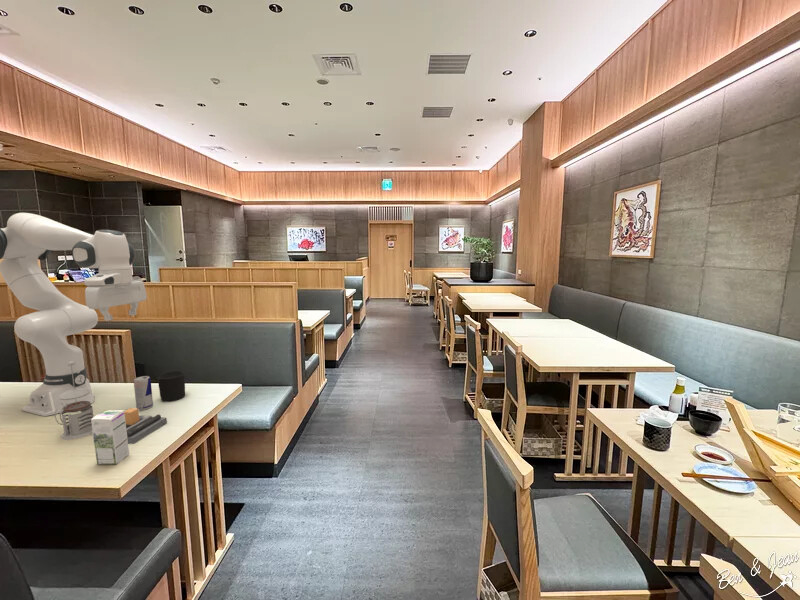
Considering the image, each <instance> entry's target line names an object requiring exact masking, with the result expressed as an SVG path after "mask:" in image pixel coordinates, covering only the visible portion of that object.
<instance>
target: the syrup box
mask: <svg viewBox="0 0 800 600" xmlns="http://www.w3.org/2000/svg"><path fill="white" fill-rule="evenodd" d="M124 411H125V410H121V409H120V410H119V409H118V410H116V409H115V410H113V409H112V410H108V409H107V410H103V411H101V412H99V413H97V414H96V415H95V416H93V418H92V419H91V424H92V431H93V433H92V436H93V437H92V438H93V445H94V451H95V458H96V465H118V464H119V463H120V462H121V461H123V459H125V458H127V456H129V454H130V448H129V443H128V440H127V431H126V421H125V413H124Z"/></svg>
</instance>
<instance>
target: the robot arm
mask: <svg viewBox="0 0 800 600" xmlns="http://www.w3.org/2000/svg"><path fill="white" fill-rule="evenodd" d="M54 251H71V257H72V259H73V261H74V263H75V264H76V265H78V267H80V268H82V269H85V268H86V269H98V273H96V274H94V275H91V276H90V277H87V278H84V280H83V281H84V282H83V283H84V285H85V286H86V288H85V289H84V298H85V305H84V304H81V303H79V302H76V301H74V300H73V299H71V298H69V297H68V296H67V295H65V294H63V293H62V292H61V291H60V290H59V289H58V288H57V287H56V285H55V284H54V283H52V281H51V280H50V279H49V277H48V276H47V275H46V273H45V272H44V271H43V270H42V269H41V267H40V265H39V262H38V260H39V261H45V260H47V259H48V256H51V254H52V253H53V252H54ZM136 259H137V251H136V248H135V247H134V246H133V245H132V244H131V243H130V242H128V240H127V236H126V235H125V233H123V232H122V231H119V230H113V229H98V230H96V231H95V232H94V234H93V233H89V232H86V231H82V230H80V229H78V228H76V227H75V228H74V227H71V226H69V225H66V224H63V223H62V222H59V221H55V220H53V219H51V218H49V217H46V216H42V215H40V214H35V213H31V212H30V213H29V212H18V213H13V214H12V215H11V216H10V217H9V218H8V220H7V222H6V227H4V228H2V227H1V228H0V260H1V261H0V274H1V276H2V278H3V280H4V282H5V284H6V285H7V286H8V288H9V289H10V290H11V292H12V294H14V296H15V297H16V298H17V300H18V302H20V304H21V305H22V306H24V307H25V308H28V309H33V310H37V311H34V312H31V313H28V314H25V315H22V316H20V317H18V318H17V319H16V321H15V322H14V328H13V329H14V333H15V334H16V336H17V337H18V339H21V340H22V341H24V342H26V343H29V344H31V345H33V346H34V347H36V349H37V350H38V351H39V352H40V354H41V357H42V358H43V363H44V368H45V374H42V375H41V378H40V379H42V380H43V381H42V384H40V385H39V386H38V387H37V388H36V389H34V390H33V391H32V392H31V393H30V395H29V403H28V404H25V405H23V407H22V408H21V411H22V412H26V413H30V414H33V415H37V416H38V415H39V416H42V417H50V416H53V415H55V412H56V409H57V407H58V406H59V405H60V404H61V403H63V406H64V405H65V404H66V403H68V404H71V403H75V402H80V401H89V402H91V403H90V405H92V404H93V402H95V399H94V398H95V397H96V396H95V393H93V391H92V387H91V383H90V379H88V378H87V377H88V370H87V368H86V367H85V360H84V352H83V350H82V349H81V348H80V347H78V346H76V345H73V344H70V343H68V340H67V339H66V337H67V336H71V335H76V334H81V333H84V332H86V331H89V330H91V329H93V328H95V327H96V325H97V324H98V322H99V316H98V314H97V312H96V310H99V312H100V313H101V315H102V316H103V320H104V321H106V322H109V321H113V320H114V317H113V314H111V313H109V311H110V308H111V307H119V306H122V305H130V309H129V310H128V316H136V315H137V310H138V307H139V306H140V305H139V304H140V303H141V302H145V301H147V298H148V294H147V290H146V286H145V283H144V280H143V279H142V278H141V277H140V276H138V275H136V276H133V270H132V264H133V263H134V262H135V260H136ZM139 302H140V303H139ZM72 361H73V362H75V365H72V370H71V366H67V364H68V362H72ZM72 371H73V378H72ZM73 379H74V386H73ZM74 387H75V389H76V388H84V389H89V390H91V392H90V393H89V394H88V395H86V396H83V397H80V398H76V401H75V399H71V400H61V399H59V398H58V397H59V396H60V395H61V394H63V393H64V392H66V391H69V390H72V389H74ZM66 405H67V404H66ZM63 406H62V404H61V405H60V406H59V407H58V409H57V412H56V415H57V414H60V411H61V409H62V407H63ZM63 411H64V410H63V409H62V412H63ZM62 412H61V414H62Z"/></svg>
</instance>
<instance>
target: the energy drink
mask: <svg viewBox="0 0 800 600" xmlns="http://www.w3.org/2000/svg"><path fill="white" fill-rule="evenodd" d="M133 388H134V397H135V398H134V399H135V405H136V406H135V409H138V411H144V410H148V409H151V408H152V407H153V406H154V401H153V390H152V380H151V377H150V376H149V375H142V376H139V377H135V378H134V379H133Z"/></svg>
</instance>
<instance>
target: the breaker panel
mask: <svg viewBox="0 0 800 600" xmlns="http://www.w3.org/2000/svg"><path fill="white" fill-rule="evenodd" d="M167 420H168V419H167V417H164V416H163V417H162V416H161V414H160V413H159V414H156V415H154V416H153V415H139V422H137V423H135V424H134V425H132V426H130V427H126V431H127V440H128V444H130V445H131V444H132V445H133V444H136V443H137V442H139V441H141V440H142V439H144V438H145V437H147V436H148V435H150V434H151V433H154V432H155V431H156V430H159V428H162V427H163V426H164V425H166V424H168V421H167Z"/></svg>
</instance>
